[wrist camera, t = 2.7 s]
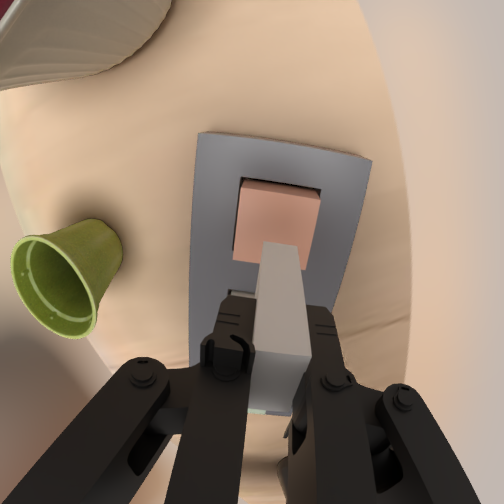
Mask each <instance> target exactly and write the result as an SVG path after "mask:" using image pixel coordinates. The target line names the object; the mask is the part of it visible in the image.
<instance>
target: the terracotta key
mask: <svg viewBox="0 0 504 504" xmlns="http://www.w3.org/2000/svg"><path fill="white" fill-rule="evenodd" d="M320 202H321V199H320V198H319V196H318V194H317V192H316V191H315V190H313V189H307V188H301V187H295V186H289V185H283V184H276V183H270V182H263V181H256V180H248V179H245V181H244V183H243V185H242V187H241V191H240V200H239V208H238V217H237V225H236V234H235V243H234V252H233V260H238V261H245V262H252V263H258V264H260V261H261V254H262V248H263V242H264V241H266V242H273V243H280V244H287V245H293V246H297V248H298V254H299V261H300V268H301V270H305V269H306V265H307V261H308V257H309V252H310V248H311V244H312V239H313V235H314V230H315V226H316V221H317V216H318V212H319V207H320Z"/></svg>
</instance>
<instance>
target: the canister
mask: <svg viewBox="0 0 504 504" xmlns="http://www.w3.org/2000/svg"><path fill="white" fill-rule="evenodd" d="M171 1H172V0H0V91H2V90H7V89H11V88H17V87H23V86H29V85H35V84H41V83H48V82H55V81H62V80H69V79H77V78H82V77H86V76H90V75H95V74H98V73H100V72H101V71H104V70H108V69H110V68H112V67H113V66H114V65H116V64H119V63H121V62H122V61H123V60H124V59H126V58H127V57H130V56H132V55H133V53H134V52H135V51H136V50H137V49H139V48H141V47H142V46H143V44H144V43H145V42H146V41H147V40H148V39H150V38H151V36H152V34H153V33H154V32H155V31H156V30H157V29H158V28H159V25H160V24H161V22H162V21H163V20H164V19H165V16H166V13H167V11H168V10H169V9H170V6H171Z"/></svg>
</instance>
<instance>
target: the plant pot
mask: <svg viewBox="0 0 504 504" xmlns="http://www.w3.org/2000/svg"><path fill="white" fill-rule="evenodd" d="M122 258H123V251H122V245H121V242H120V240H119V238H118V236H117V234H116V233H115V232H114V231H113V230H112V229H110V228H109V227H108V226H107V225H106V224H105V223H104V222H103V221H101V220H98V219H86V220H83V221H81V222H78V223H76V224H73V225H71V226H68V227H66V228H63V229H61V230H58V231H56V232H53V233H51V234H43V235H29V236H26V237H24V238H22V239H20V240H19V241H18V242H17V243H16V245H15V246H14V248H13V251H12V254H11V274H12V278H13V282H14V285H15V287H16V290H17V292H18V294H19V296H20V298H21V300H22V302H23V303H24V305H25V306H26V308H27V309H28V310H29V312H30V313H31V314H32V315H33V316H34V317H35V319H37V320H38V321H39V322H40V323H41V324H42V325H43V326H45V327H46V328H47V329H49V330H50V331H52V332H54V333H55V334H57V335H60V336H62V337H65V338H70V339H79V338H84V337H86V336H88V335H89V334H90V333H91V332H92V330H93V329H94V327H95V325H96V321H97V311H98V308H99V303H100V301H101V299H102V297H103V295H104V293H105V291H106V289H107V288H108V286H109V284H110V282H111V280H112V279H113V277H114V275H115V274H116V272H117V270H118V269H119V267H120V265H121V262H122Z"/></svg>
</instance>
